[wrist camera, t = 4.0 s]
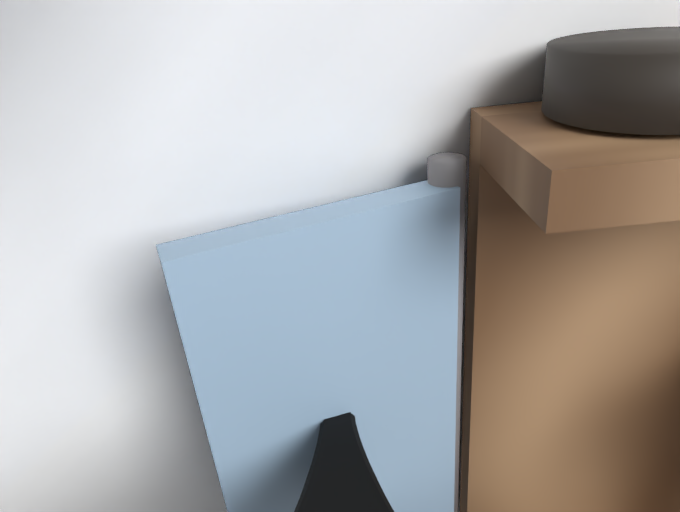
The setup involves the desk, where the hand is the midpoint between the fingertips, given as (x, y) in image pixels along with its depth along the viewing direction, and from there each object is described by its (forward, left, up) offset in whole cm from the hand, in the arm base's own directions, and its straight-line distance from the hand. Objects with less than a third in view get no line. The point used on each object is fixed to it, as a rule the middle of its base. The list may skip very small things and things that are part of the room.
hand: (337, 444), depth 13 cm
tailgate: (-3, 0, -2) cm, 3 cm away
